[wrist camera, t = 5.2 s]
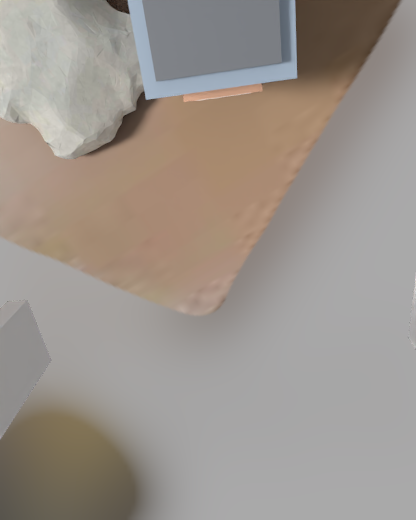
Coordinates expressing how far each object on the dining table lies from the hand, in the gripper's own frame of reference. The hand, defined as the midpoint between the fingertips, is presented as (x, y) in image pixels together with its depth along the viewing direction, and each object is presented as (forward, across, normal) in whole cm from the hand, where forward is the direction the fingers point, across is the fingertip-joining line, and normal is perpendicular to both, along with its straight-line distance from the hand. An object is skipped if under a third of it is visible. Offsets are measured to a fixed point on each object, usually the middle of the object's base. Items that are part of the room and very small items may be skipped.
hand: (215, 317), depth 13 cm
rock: (+33, -18, +15) cm, 40 cm away
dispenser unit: (+32, 0, +11) cm, 34 cm away
